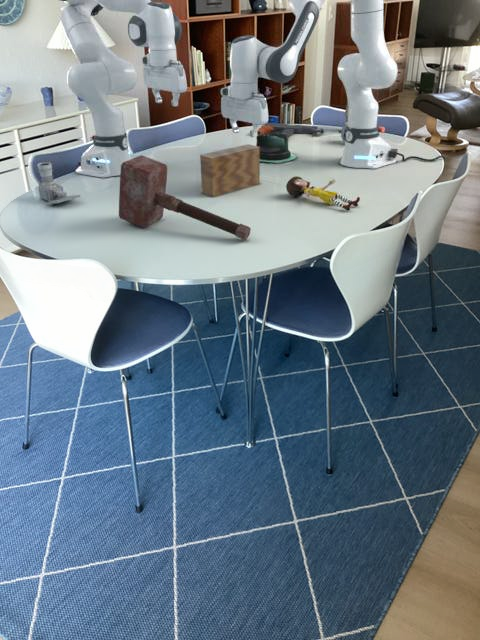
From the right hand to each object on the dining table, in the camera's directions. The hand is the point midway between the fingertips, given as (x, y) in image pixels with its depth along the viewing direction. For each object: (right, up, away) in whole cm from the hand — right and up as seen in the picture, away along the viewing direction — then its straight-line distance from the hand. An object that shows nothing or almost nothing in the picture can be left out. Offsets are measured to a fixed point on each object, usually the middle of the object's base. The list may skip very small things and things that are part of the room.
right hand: (244, 134), depth 189 cm
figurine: (+24, -25, -10) cm, 36 cm away
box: (-5, -17, +5) cm, 18 cm away
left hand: (-26, +10, -2) cm, 28 cm away
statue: (+54, +29, +81) cm, 101 cm away
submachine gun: (+20, +24, +75) cm, 81 cm away
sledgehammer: (-17, -37, -29) cm, 50 cm away
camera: (-63, -24, -4) cm, 67 cm away
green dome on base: (+12, +4, +41) cm, 43 cm away
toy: (+50, +15, +58) cm, 78 cm away
